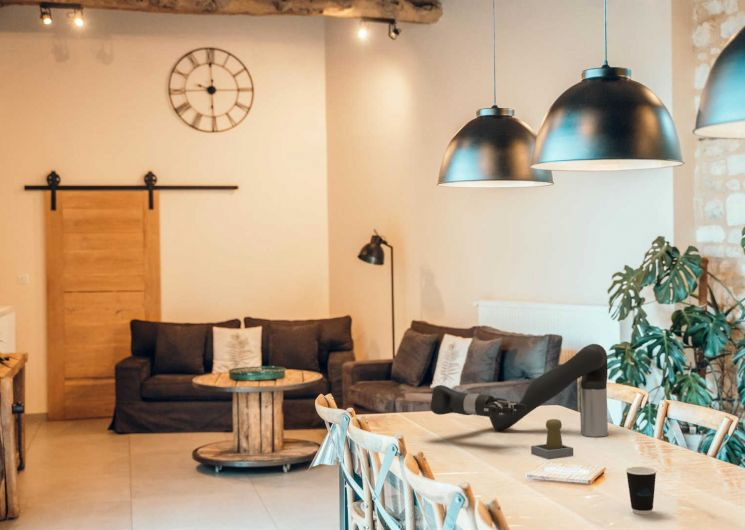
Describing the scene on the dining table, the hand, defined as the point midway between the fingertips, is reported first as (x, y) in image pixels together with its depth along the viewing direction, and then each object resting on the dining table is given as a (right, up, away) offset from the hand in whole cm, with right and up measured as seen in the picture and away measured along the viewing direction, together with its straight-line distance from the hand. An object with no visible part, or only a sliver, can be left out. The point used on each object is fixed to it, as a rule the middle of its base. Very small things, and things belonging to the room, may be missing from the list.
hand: (519, 409), depth 327 cm
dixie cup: (+20, -15, -78) cm, 82 cm away
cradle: (+10, -14, -7) cm, 18 cm away
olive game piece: (+11, -13, -7) cm, 18 cm away
